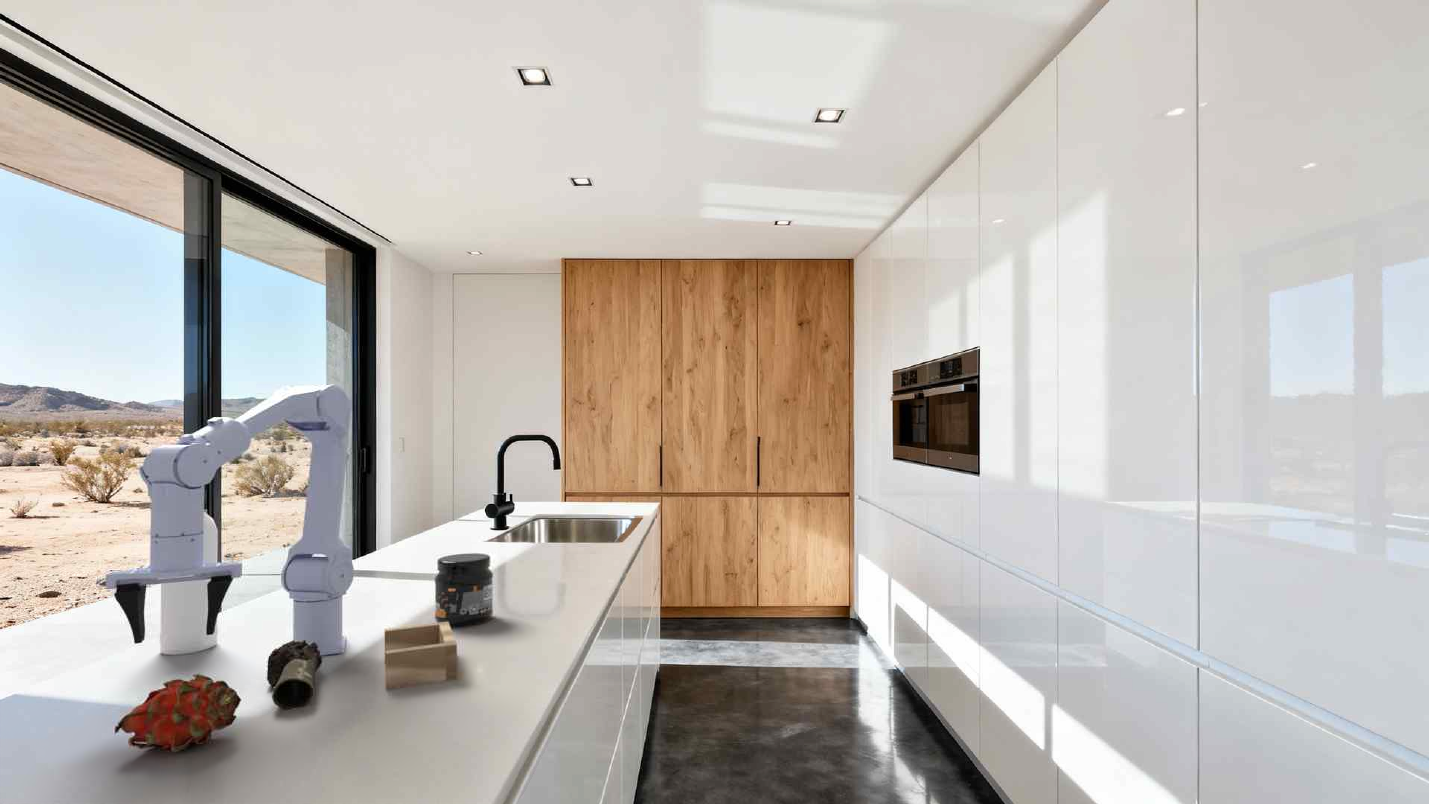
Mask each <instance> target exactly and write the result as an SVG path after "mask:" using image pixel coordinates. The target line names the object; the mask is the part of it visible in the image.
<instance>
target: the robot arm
mask: <svg viewBox="0 0 1429 804" xmlns="http://www.w3.org/2000/svg"><path fill="white" fill-rule="evenodd" d="M352 403H353V402H352V400H351V398H350V397H349V396H348V394H347V393H346V391H345V390H344V389H343V388H342V387H341V386H340V385H338V384H337V385H336V384H329V385H315V386H313V385H310V386H295V385H294V386H293V385H288V386H285V387H282V388H281V389H280V390H276V391H272V394H271V396H270V397H269V398H267V399H265V400H263V401H262V402H260V403H259V404H258V405H256V406H255V407H253V408H251V409H250V410H248V411H247V412H245V413H244V414H242V415H241V416H238V417H237V418H235V419H234V418H230V417H212V418H210V419H207V421H206V422H207V425H206V426H204V427H202V428H200V429H199V430H196V431H195V432H193V433H190V434H189V433H185V434H182V435H181V436H179V440H178V441H177V442H176V443H175V444H163V445H159V446H156V447H154V448H153V449H152V450H150V452H149V453H147V455H146V456H145V458H144V460H143V464H142V465H139V467H138V468H139V469H138V470H139V475H140V477H141V478H140V479H142V481H143V483H145V485H146V487H147V497H149V499H150V541H149V542H150V547H149V548H150V549H149V550H150V551H149V567H144V568H143V567H142V568H135V569H126V570H119V571H118V570H116V571H110V572H108V573H106V574H105V590H114V589H116V590H115V593H114V594H113V595H114V598H115V600H116V602H117V603H118V605H119V606H120V608H121V609H122V611H123V612H124V614H125V616H126V619H127V621H128V623H129V625H130V629H131V632H132V635H133V642H134V644H135V645H136V644H141V643H143V641H144V640H145V637H146V623H145V602H146V594H147V586H148V585H159V584H160V585H161V584H162V583H174V582H185V581H196V580H208V579H211V581H210V582H208V584H207V593H208V616H207V626H206V635H212V634H213V633H214V632H215V625H216V620H217V621H218V615H219V613H220V609H221V606H222V604H223V601H224V599H225V596H226V594H227V593H228V590H229V588H230V586H231V584H232V582H233V580H234V579H236V578H237V579H239V578H241V577H242V575H243V561H229V562H228V561H227V562H226V561H225V562H217V563H203V536H204V532H203V531H204V512H205V511H204V510H205V485H208V484H210V483H211V481H212V480H213V479H214V477H215V475H216V473H217V470H218V469H219V468H220V467H222V466H224V465H226V464H227V463H228V462H230V461H233V459H235V458H238V456H240V455H242V454H243V453H245V452H246V451H248V450H249V448H250V446H251V444H252V439H253V438H255V437H257V436H259V435H261V434H263V433H264V432H266V431H268V430H271V428H274V427H276V426H279V425H280V424H282V423H284V424H286V425H287V426H288V427H290V428H291V429H293V430H294V431H296V432H298V433H299V434H301V435H302V436H304V437H305V438H306V439H307V440H308V441H309V442H310V444H311V453H310V462H309V472H308V481H307V491H306V497H305V498H306V499H305V509H304V516H303V517H304V518H303V527H302V537H301V538H300V539H299V540H298V541H297V542H295V543H294V544H293V545H291V547H290V548H289V549H288V552H287V553H288V554H287V559H286V561H285V564H284V565H283V567H282V571H281V576H280V578H281V579H280V581H281V586H282V588H283V589H284V591H285V592H287V593H288V594H289V596H288V597H289V599H291V600H292V606H293V607H292V622H293V623H292V641H293V640H294V641H295V642H296V641H297V642H298V641H299V642H303V641H304V640H306V643H307V644H309V645H311V644H312V643H313V642H315V643H316V645H317V646H318V649H317V650H320V657H322V656H327V655H336V654H343V653H344V652H345V649H346V648H345V647H346V641H347V636H346V635H343V596H344V595H345V596H346V595H347V591H348V590H349V588H351V585H352V583H353V582H354V576H355V569H354V564H353V559H352V558H353V556H352V554H353V549H352V548H351V547H350V546H349V545H348V544H347V543H345V542H344V541H343V540H342V539H341V538H340V537H339V536H340V527H341V517H342V506H343V500H344V499H343V497H344V487H345V476H346V468H347V459H348V458H347V457H348V456H347V455H348V449H349V448H348V446H349V439H350V438H349V431H350V422H351V413H352ZM314 555H323V556H314ZM189 575H193V576H192V577H181V576H189ZM202 575H204V576H202ZM173 577H180V578H173ZM161 578H169V579H161Z"/></svg>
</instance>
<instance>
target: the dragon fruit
mask: <svg viewBox="0 0 1429 804" xmlns="http://www.w3.org/2000/svg"><path fill="white" fill-rule="evenodd" d="M192 676H193V677H194V679H193V678H191V679H190V680H189V681H188V680H184V679H179V678H178V679H173V680H168V681H166V682H165V681H164V683H163V684H162V685H163V688H160V689H157V690H156V689H155V690H152V691H150V692H149V693H148V696H147V698H146V699H145V700H144V702H142V703H141V704H139V705H137V706H136V707H134V708H133V709H132V711H130V712H129V713H127V714H125V715H124V716H123V717H122V718H121V719H120V721H118V723H117V724H116V726H115V727H114V734H116V735H117V733H118V732H119V731H120V730H122V731H123V732H124V734H131V733H133V734H134V735H132V736H131V737H129V738H128V741H127V743H128V745H129V746H130V747H132V748H137V749H139V750H143V749H144V750H145V749H150V748H157V749H159V750H165V749H169V748H170V749H171V751H172V753H173V754H174V753H175V754H178V753H179V752H180V751H181V750H183V749H186V748H187V747H188V746H189V744H190V742H192V743H194V744H196V745H201V744H205V743H207V742H209V741H210V740H211V738H212V733H213V731H221V730H224V729H225V728H228V727H229V726H232V724H233V722H235V720H236V718H238V717H237V716H236V715H235V712H236V711H237V709H238V707H239V706H240V704H241V701H242V699H241V697H240V696H239V695H238V692H237V691H236V690H235V689H234V688H232V687H230V685H229V684H228V683H227V682H226V681H224V680H217V681H214V680H213V679H212V678H211V677H208V676H205V675H204V674H201V673H197V674H196V673H195V674H193V675H192ZM208 740H209V741H208Z"/></svg>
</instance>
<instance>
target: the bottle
mask: <svg viewBox="0 0 1429 804" xmlns="http://www.w3.org/2000/svg"><path fill="white" fill-rule="evenodd" d="M203 532H204V536H203V563H218V556H219V555H218V543H219V542H218V538H219V537H218V532H219V531H218V528H217V525H216V523H215V521H214V518H213V517H212V516H210V515H209V514H207V512H205V511H204V531H203ZM192 576H193V575H189V576H181V577H192ZM202 576H204V575H202ZM173 578H180V577H173ZM160 579H169V578H160ZM210 581H211V579H208V580H196V581H185V582H174V583H162V584H160V634H159V645H160V646H159V647H160V652H161V654H163V655H167V656H181V655H188V654H194V653H199V652H202V651H206V650H209V649H211V648H213V647H215V646H216V644H217V643H218V633H219V626H218V619H217V620H216V625H215V632H214V633H213V634H212V635H206V626H207V616H208V593H207V584H208V582H210Z"/></svg>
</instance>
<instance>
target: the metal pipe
mask: <svg viewBox="0 0 1429 804" xmlns="http://www.w3.org/2000/svg"><path fill="white" fill-rule="evenodd" d="M317 649H318V646H317V645H316V643H315V642H313V643H312V644H311V645H309V644H307V643H306V640H304V641H303V642H299V641H298V642H297V641H296V642H295V641H294V640H293V639H292V640H291V641H289V642H285V643H284V644H282V645H281V646H279V647H277V648H275V649H274V650H272V652H271V653H270V654H269V655H268V659H267V671H266V681H267V682H268V684H269V686H271V687H272V688H274V687H275V688H274V689H273V692H272V695H271V698H272V702H273V703H274V705H275V706H277V707H278V708H280V709H282V710H287V711H288V710H289V711H290V710H294V709H293V708H295V709H300V708H305V707H307V706H308V705H309V704H310V702H311V701H312V699H313V697H314V695H315V681H316V673H317V672H318V669H320V667H321V665H322V663H323V657H322V656H320V650H317Z"/></svg>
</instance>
